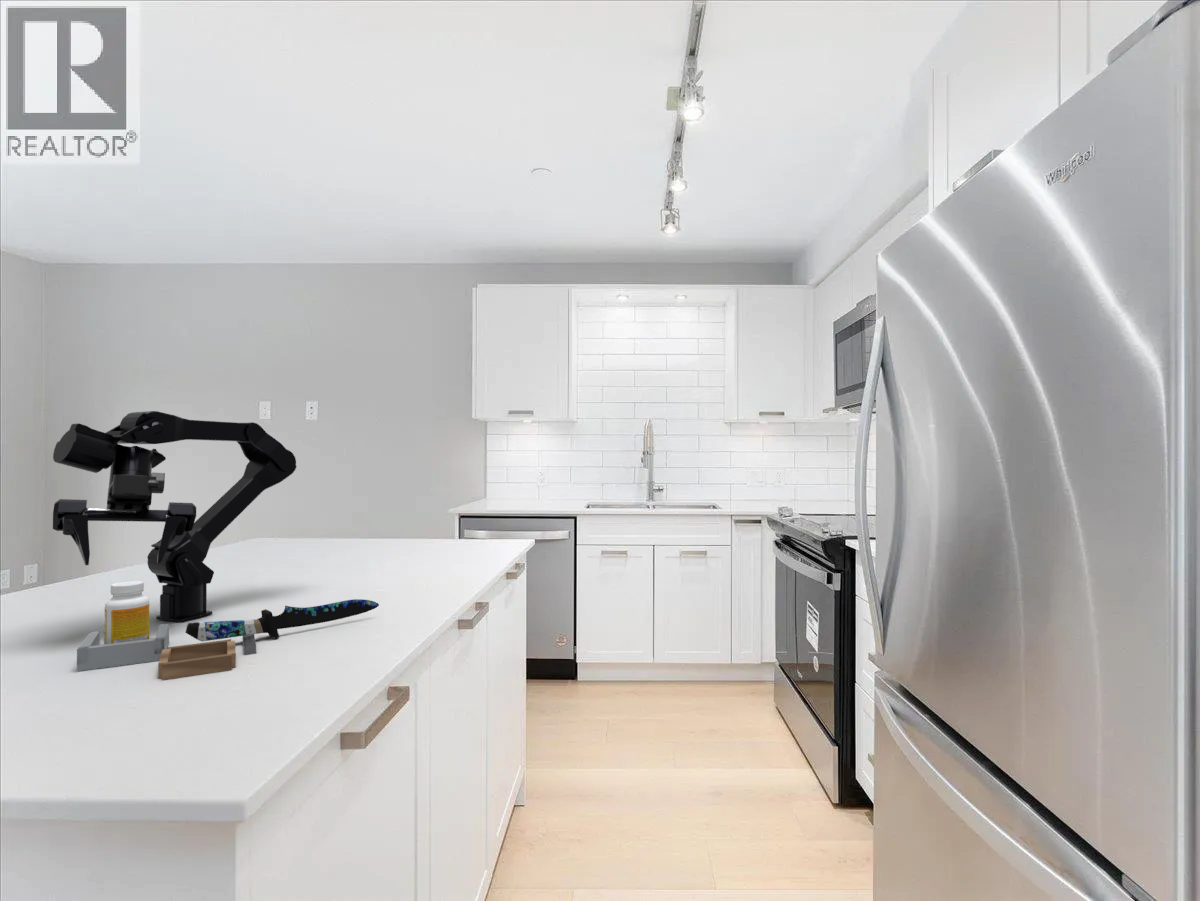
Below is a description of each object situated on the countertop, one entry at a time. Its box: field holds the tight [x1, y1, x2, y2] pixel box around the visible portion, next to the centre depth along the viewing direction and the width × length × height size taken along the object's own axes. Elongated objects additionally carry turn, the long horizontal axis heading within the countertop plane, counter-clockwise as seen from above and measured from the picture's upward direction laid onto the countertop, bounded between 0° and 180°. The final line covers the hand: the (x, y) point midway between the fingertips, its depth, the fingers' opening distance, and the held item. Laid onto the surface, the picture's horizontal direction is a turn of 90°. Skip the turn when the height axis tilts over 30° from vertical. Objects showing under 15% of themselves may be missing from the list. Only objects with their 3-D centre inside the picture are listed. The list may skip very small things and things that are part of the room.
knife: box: [185, 598, 380, 643], centre depth 108 cm, size 31×3×4 cm, turn 132°
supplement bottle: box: [103, 580, 150, 644], centre depth 96 cm, size 5×5×10 cm
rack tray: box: [76, 623, 170, 672], centre depth 96 cm, size 10×10×3 cm
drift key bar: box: [242, 634, 257, 655], centre depth 101 cm, size 8×2×1 cm, turn 30°
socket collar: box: [157, 638, 237, 681], centre depth 92 cm, size 9×9×2 cm
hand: (123, 563), depth 103 cm, fingers open, 9 cm apart
